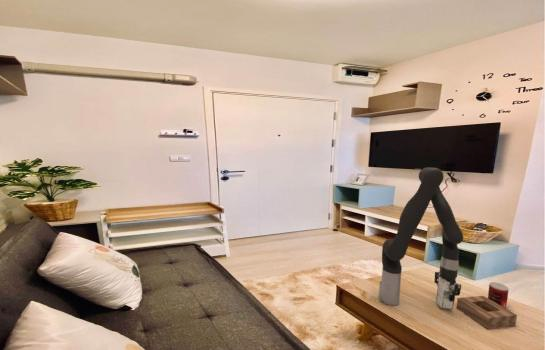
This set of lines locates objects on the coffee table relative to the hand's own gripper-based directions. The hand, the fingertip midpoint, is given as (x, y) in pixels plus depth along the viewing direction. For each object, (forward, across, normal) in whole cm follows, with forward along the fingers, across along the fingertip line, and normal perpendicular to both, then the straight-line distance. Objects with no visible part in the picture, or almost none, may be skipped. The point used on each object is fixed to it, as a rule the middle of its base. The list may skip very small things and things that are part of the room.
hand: (445, 297), depth 132 cm
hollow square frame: (+6, +9, +14) cm, 18 cm away
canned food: (+6, +2, +30) cm, 31 cm away
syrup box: (+5, 0, 0) cm, 5 cm away
